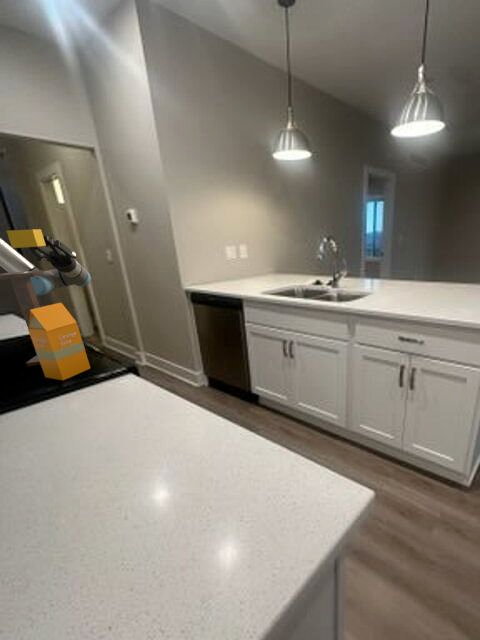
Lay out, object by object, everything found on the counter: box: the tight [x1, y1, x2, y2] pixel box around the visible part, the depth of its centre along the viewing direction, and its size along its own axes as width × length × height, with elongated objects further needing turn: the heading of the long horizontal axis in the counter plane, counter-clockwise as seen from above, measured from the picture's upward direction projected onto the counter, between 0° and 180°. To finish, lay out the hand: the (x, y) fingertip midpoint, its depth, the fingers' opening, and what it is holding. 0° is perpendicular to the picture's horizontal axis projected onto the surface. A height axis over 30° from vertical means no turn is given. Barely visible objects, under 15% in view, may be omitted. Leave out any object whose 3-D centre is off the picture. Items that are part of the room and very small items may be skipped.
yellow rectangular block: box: [6, 228, 47, 249], centre depth 112 cm, size 7×14×5 cm, turn 14°
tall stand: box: [0, 269, 43, 367], centre depth 106 cm, size 10×6×28 cm, turn 104°
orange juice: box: [27, 302, 91, 381], centre depth 97 cm, size 8×9×20 cm
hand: (31, 233), depth 112 cm, fingers closed on yellow rectangular block, 2 cm apart
